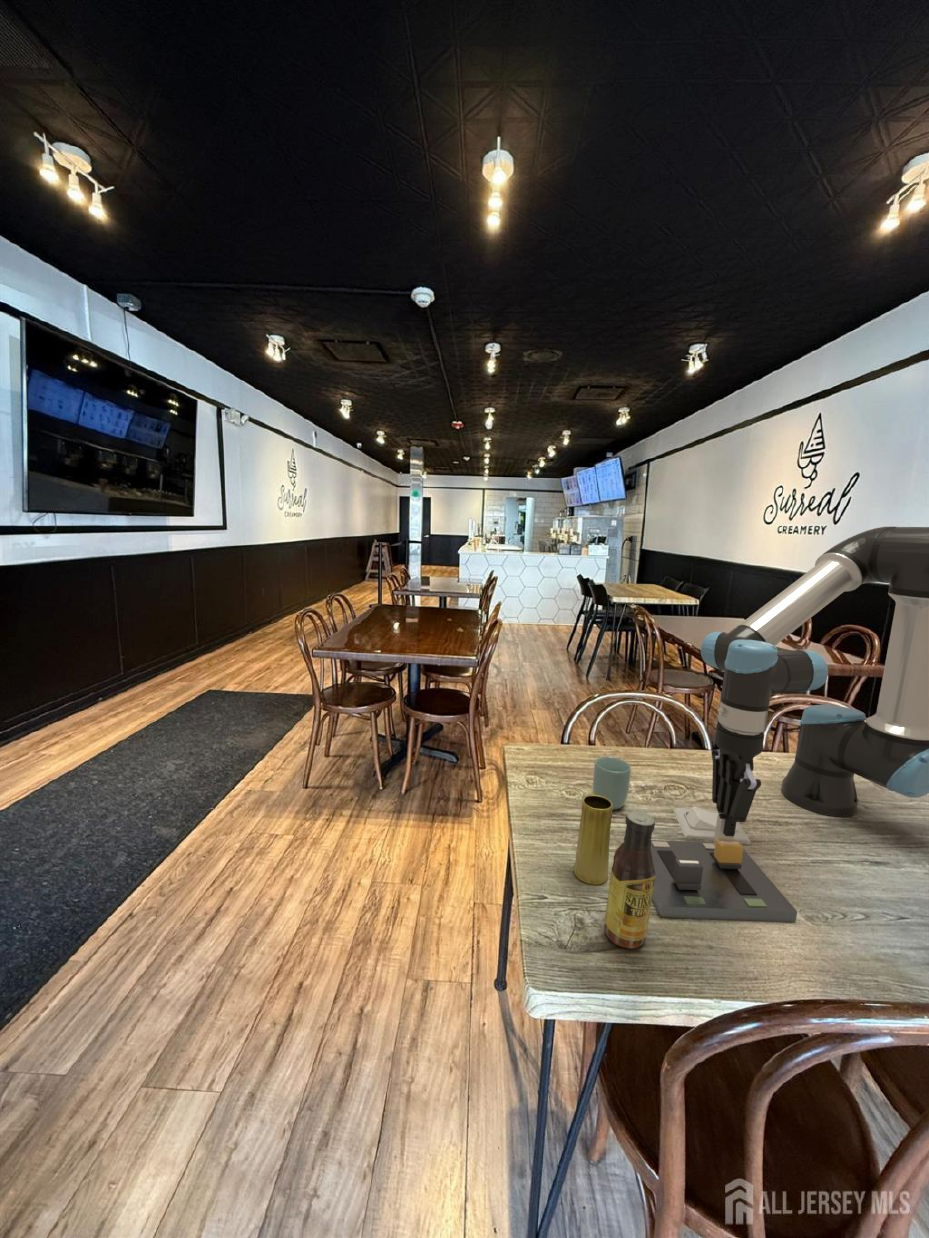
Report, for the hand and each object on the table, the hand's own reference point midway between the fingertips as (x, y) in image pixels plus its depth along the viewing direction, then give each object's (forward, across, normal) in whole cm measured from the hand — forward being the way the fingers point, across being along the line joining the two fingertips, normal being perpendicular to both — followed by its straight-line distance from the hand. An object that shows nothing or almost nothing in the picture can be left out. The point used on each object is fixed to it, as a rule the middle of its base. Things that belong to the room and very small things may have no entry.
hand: (722, 847), depth 94 cm
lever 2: (+2, +2, 0) cm, 3 cm away
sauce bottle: (+5, +17, -23) cm, 29 cm away
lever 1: (+2, +8, -10) cm, 13 cm away
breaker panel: (+5, +4, -5) cm, 8 cm away
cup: (+5, -21, -15) cm, 26 cm away
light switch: (+5, -14, +5) cm, 16 cm away
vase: (+5, +3, -25) cm, 25 cm away
